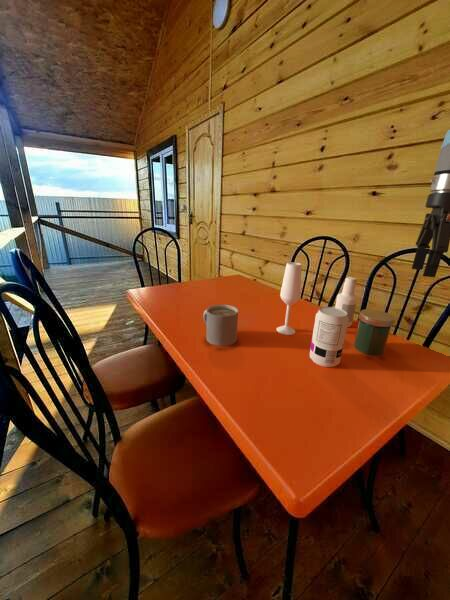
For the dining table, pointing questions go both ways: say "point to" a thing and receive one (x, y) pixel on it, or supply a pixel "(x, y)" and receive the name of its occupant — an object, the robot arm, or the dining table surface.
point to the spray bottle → (347, 299)
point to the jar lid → (376, 318)
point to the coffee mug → (221, 324)
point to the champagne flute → (290, 292)
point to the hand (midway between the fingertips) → (422, 272)
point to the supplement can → (328, 336)
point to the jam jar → (371, 338)
